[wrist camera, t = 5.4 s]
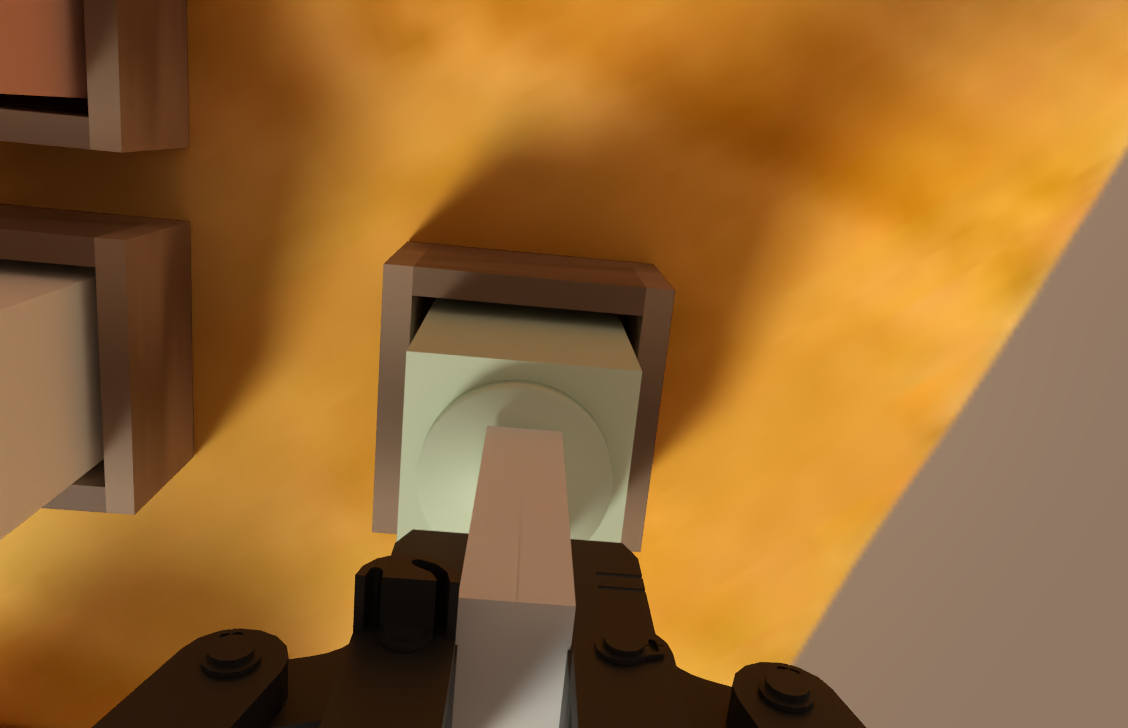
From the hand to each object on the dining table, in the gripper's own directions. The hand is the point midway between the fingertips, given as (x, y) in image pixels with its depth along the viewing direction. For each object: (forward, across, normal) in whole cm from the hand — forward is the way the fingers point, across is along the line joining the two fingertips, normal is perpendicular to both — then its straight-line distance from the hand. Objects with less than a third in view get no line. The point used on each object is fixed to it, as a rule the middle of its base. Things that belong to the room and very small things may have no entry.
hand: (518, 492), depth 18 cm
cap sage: (+7, 0, 0) cm, 7 cm away
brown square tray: (+9, 0, 0) cm, 9 cm away
